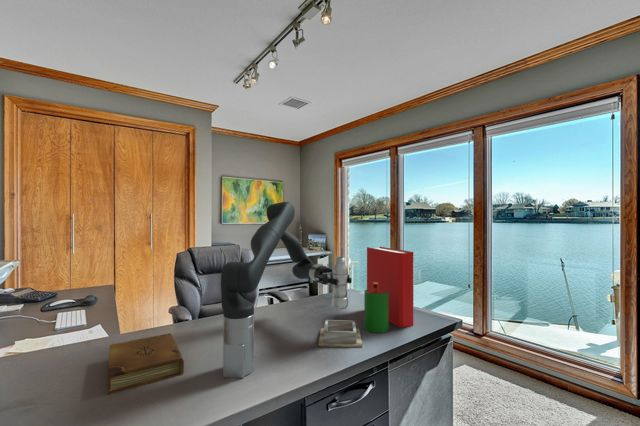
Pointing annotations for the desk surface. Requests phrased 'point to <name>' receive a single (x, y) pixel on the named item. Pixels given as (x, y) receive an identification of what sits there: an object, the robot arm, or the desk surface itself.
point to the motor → (376, 310)
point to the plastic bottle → (340, 284)
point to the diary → (143, 362)
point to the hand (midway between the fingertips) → (343, 281)
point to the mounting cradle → (340, 334)
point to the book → (393, 281)
